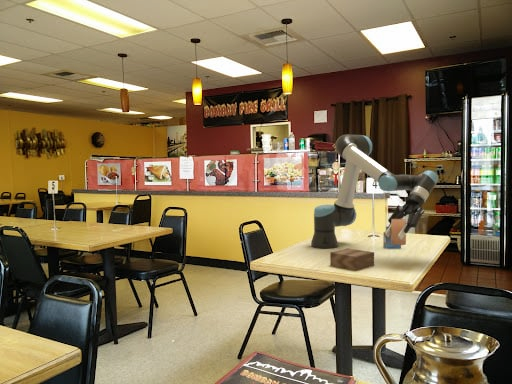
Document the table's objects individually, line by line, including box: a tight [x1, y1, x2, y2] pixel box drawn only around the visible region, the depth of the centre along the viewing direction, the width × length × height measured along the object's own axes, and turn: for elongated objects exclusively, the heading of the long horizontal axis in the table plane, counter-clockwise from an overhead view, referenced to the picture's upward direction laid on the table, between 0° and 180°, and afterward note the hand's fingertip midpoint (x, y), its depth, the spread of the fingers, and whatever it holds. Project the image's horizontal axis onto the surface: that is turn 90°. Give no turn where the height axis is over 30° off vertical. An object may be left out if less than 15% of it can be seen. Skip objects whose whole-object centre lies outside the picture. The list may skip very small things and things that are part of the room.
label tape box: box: [383, 225, 402, 249], centre depth 230 cm, size 9×4×12 cm, turn 92°
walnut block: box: [329, 248, 375, 272], centre depth 188 cm, size 14×14×6 cm
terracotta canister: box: [391, 218, 407, 246], centre depth 187 cm, size 6×6×11 cm
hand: (393, 236), depth 185 cm, fingers closed on terracotta canister, 6 cm apart
